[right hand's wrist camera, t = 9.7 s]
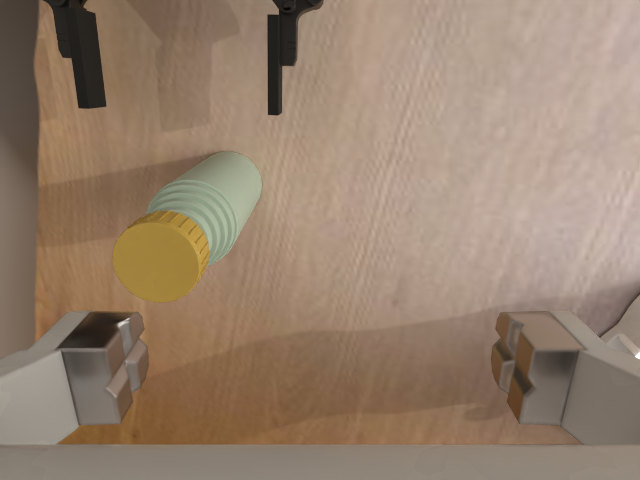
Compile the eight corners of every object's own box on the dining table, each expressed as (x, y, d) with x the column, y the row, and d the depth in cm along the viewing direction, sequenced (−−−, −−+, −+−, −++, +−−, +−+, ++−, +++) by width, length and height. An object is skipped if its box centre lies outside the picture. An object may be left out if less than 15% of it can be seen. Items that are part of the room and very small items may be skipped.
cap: (113, 253, 26) (94, 269, 24) (157, 192, 25) (141, 203, 23) (181, 300, 27) (168, 319, 25) (226, 243, 26) (217, 258, 23)
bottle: (184, 188, 42) (80, 268, 24) (221, 137, 40) (139, 182, 23) (236, 227, 43) (175, 331, 25) (275, 179, 42) (237, 254, 24)
